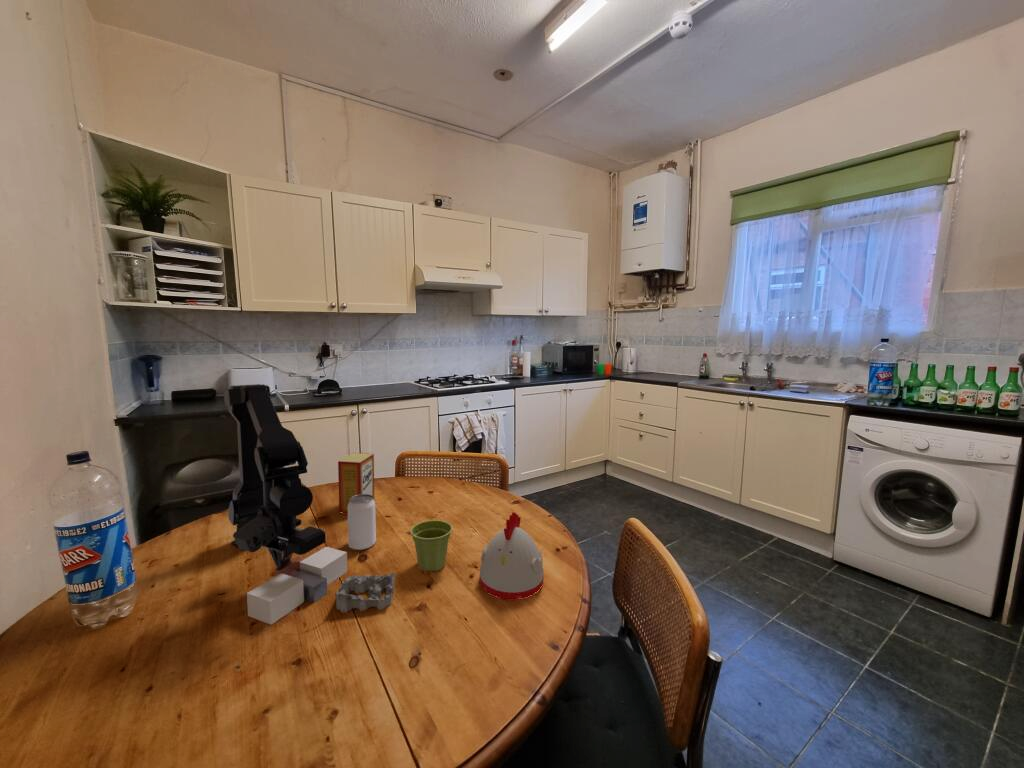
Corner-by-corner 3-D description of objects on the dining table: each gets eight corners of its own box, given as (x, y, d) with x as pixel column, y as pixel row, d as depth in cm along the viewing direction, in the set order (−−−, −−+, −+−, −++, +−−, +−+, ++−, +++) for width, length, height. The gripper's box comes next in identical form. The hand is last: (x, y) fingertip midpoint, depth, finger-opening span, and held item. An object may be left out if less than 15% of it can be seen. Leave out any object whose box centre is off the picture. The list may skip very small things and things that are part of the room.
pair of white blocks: (248, 615, 75) (246, 593, 74) (326, 565, 92) (326, 546, 92) (271, 624, 73) (270, 601, 72) (347, 571, 90) (346, 552, 89)
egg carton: (332, 615, 76) (331, 594, 76) (344, 590, 84) (343, 571, 83) (390, 612, 77) (389, 591, 77) (397, 588, 85) (396, 569, 84)
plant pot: (402, 564, 93) (402, 528, 92) (435, 550, 100) (435, 516, 99) (426, 581, 87) (426, 543, 86) (460, 564, 94) (460, 528, 93)
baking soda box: (354, 500, 129) (353, 451, 127) (374, 501, 128) (373, 452, 126) (339, 513, 119) (338, 460, 118) (360, 514, 119) (359, 461, 117)
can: (366, 552, 98) (366, 504, 97) (342, 549, 99) (341, 502, 98) (380, 539, 104) (380, 494, 103) (357, 536, 106) (357, 492, 104)
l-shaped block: (276, 593, 82) (275, 569, 81) (298, 579, 86) (297, 556, 86) (310, 605, 78) (309, 580, 78) (331, 590, 83) (330, 566, 82)
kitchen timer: (468, 590, 84) (469, 521, 82) (494, 557, 97) (495, 497, 95) (532, 607, 79) (534, 534, 78) (550, 570, 92) (552, 506, 91)
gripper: (207, 505, 78) (211, 580, 80) (276, 525, 71) (279, 607, 73) (262, 486, 89) (264, 553, 90) (327, 502, 82) (328, 574, 84)
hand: (282, 571), depth 84 cm, fingers closed
